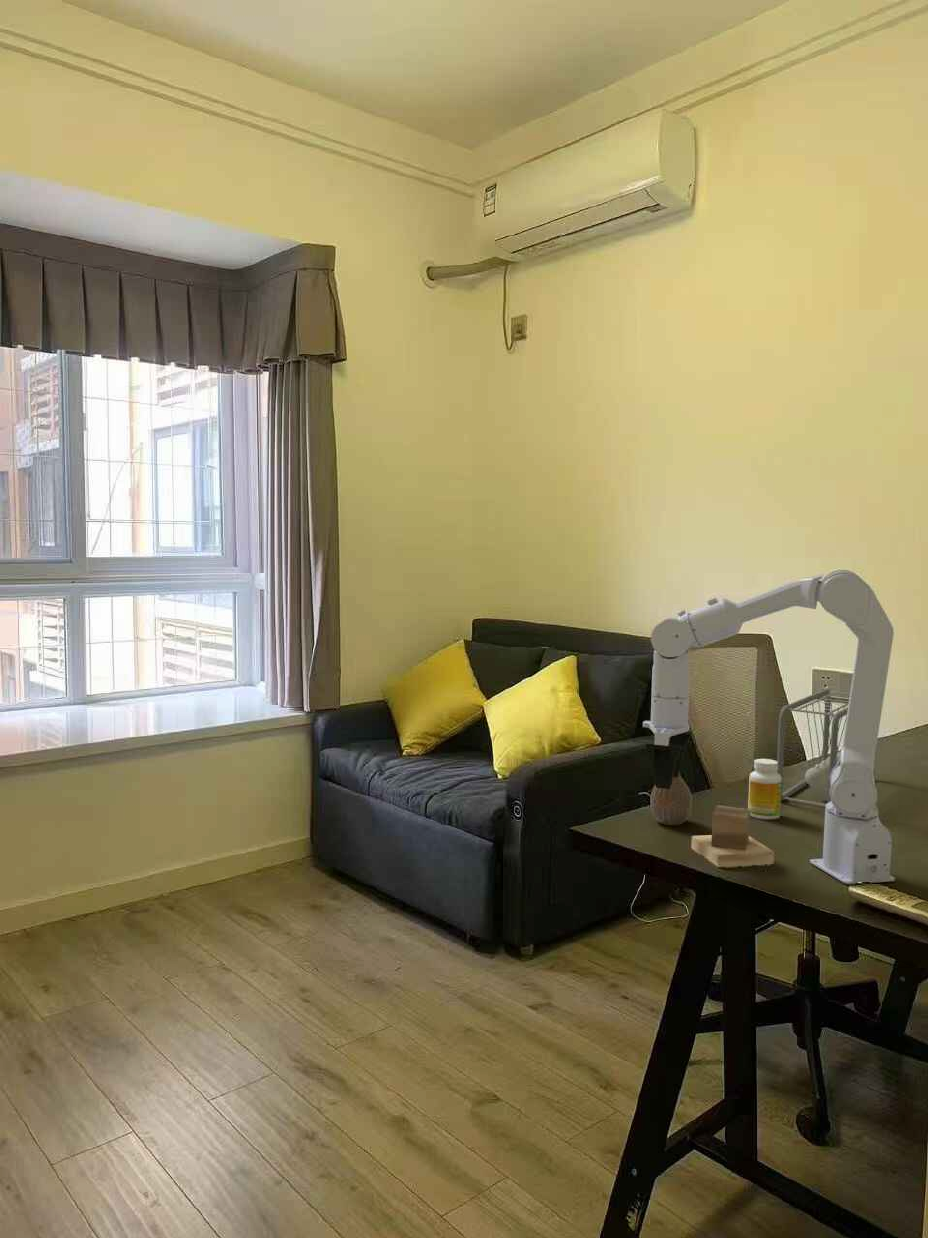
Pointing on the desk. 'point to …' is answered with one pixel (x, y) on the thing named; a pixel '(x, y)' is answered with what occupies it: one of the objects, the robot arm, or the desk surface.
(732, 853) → the oak block
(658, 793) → the vase
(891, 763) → the desk surface
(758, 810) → the supplement bottle
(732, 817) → the walnut cube
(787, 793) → the newton's cradle
